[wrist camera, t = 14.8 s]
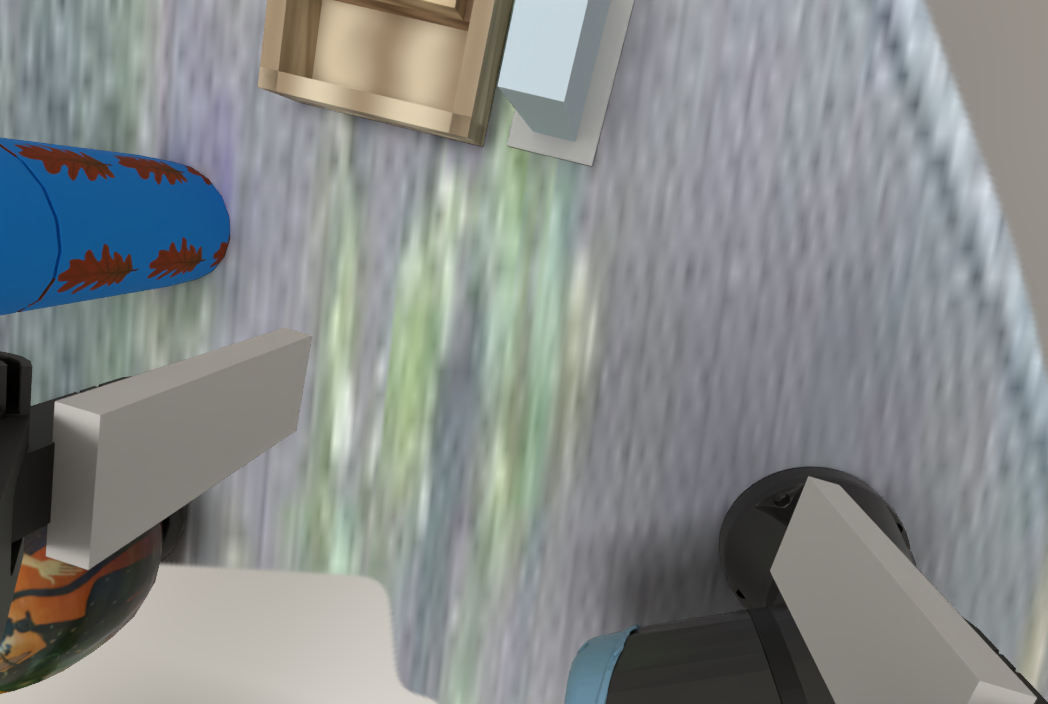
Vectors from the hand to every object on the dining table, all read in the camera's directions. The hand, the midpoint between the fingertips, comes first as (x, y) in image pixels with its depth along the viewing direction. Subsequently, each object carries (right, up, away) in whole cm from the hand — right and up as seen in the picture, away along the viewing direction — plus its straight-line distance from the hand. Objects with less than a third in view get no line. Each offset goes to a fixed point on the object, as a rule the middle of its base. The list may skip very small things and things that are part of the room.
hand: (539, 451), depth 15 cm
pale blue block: (+3, +25, +30) cm, 39 cm away
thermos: (-32, +14, +37) cm, 51 cm away
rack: (-10, +28, +31) cm, 43 cm away
